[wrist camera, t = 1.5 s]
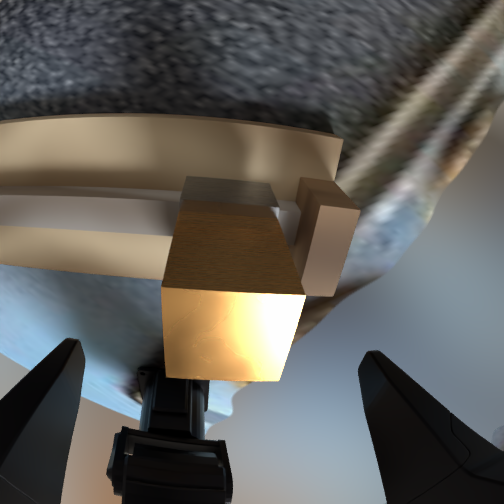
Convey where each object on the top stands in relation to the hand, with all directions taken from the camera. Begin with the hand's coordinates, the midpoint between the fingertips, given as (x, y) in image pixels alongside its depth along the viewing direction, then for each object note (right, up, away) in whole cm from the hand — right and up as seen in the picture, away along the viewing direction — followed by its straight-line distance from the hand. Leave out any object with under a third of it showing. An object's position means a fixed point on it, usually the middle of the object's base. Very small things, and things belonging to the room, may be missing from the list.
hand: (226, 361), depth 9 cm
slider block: (-1, +5, +7) cm, 9 cm away
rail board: (-7, +7, +9) cm, 13 cm away
